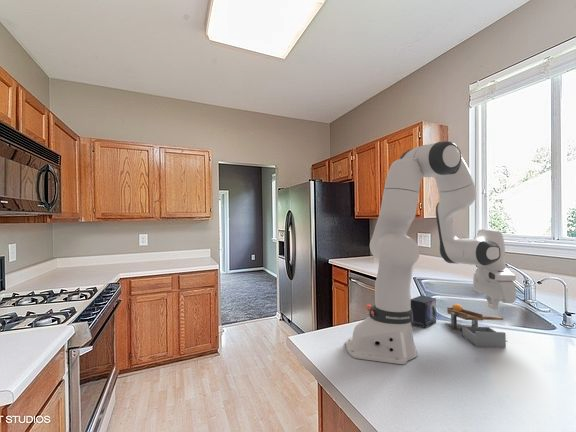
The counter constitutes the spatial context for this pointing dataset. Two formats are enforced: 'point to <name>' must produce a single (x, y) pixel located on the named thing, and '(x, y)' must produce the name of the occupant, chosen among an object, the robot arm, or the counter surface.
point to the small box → (423, 311)
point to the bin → (484, 337)
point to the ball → (457, 307)
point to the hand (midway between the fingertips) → (493, 308)
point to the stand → (459, 327)
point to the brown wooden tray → (472, 315)
